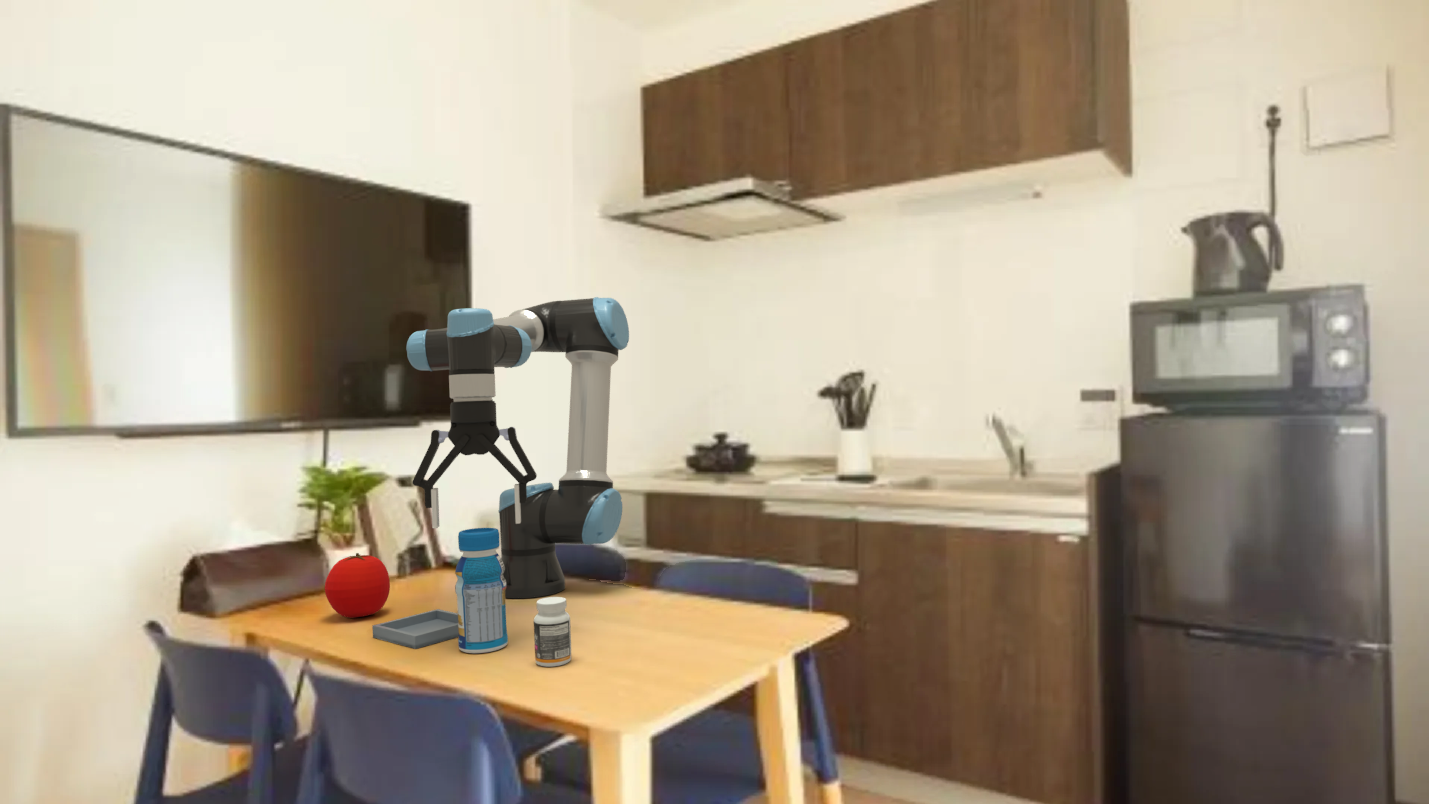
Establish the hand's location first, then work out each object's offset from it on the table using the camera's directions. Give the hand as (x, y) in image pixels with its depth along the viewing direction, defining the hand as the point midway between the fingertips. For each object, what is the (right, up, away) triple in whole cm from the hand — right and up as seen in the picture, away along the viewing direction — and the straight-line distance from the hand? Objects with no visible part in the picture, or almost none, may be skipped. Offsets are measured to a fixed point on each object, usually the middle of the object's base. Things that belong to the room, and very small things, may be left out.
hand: (477, 525), depth 149 cm
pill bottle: (+15, -21, -9) cm, 27 cm away
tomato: (-31, -22, +26) cm, 46 cm away
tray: (-12, -21, +10) cm, 27 cm away
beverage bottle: (+1, -21, 0) cm, 21 cm away
